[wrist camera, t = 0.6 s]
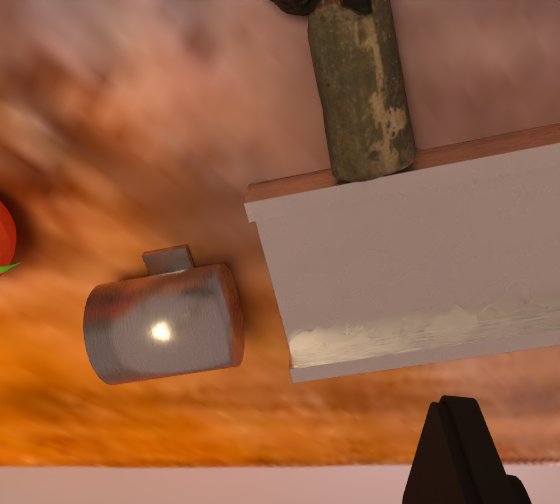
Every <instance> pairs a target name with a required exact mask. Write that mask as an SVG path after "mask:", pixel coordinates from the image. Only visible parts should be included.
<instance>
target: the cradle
mask: <svg viewBox="0 0 560 504" xmlns="http://www.w3.org/2000/svg"><path fill="white" fill-rule="evenodd" d="M244 206H245V209H246V213H247V217H248V220H249V222H254V221H256V225H257V229H258V233H259V236H260V240H261V244H262V248H263V251H264V255H265V259H266V263H267V266H268V270H269V274H270V278H271V281H272V285H273V289H274V293H275V296H276V300H277V304H278V307H279V311H280V315H281V319H282V322H283V326H284V330H285V334H286V337H287V341H288V345H289V349H290V363H289V370H290V374H291V378H292V381H293V383H297V382H304V381H311V380H318V379H325V378H332V377H339V376H346V375H353V374H360V373H367V372H374V371H381V370H388V369H395V368H402V367H409V366H416V365H423V364H430V363H437V362H444V361H451V360H458V359H465V358H472V357H479V356H486V355H493V354H500V353H507V352H514V351H521V350H528V349H535V348H542V347H549V346H556V345H560V123H559V124H554V125H549V126H544V127H539V128H534V129H529V130H524V131H519V132H514V133H509V134H504V135H498V136H493V137H488V138H483V139H478V140H473V141H468V142H463V143H458V144H453V145H448V146H443V147H438V148H433V149H428V150H423V151H417V153H416V156H415V159H414V161H413V162H412V163H411V164H410V165H408V166H407V167H405V168H404V169H401V170H399V171H396V172H394V173H392V174H388V175H384V176H382V177H379V178H377V179H374V180H370V181H365V182H348V181H343V180H339V179H336V178H335V177H334V176H333V175H332V170H331V169H326V170H321V171H316V172H311V173H306V174H301V175H296V176H291V177H286V178H281V179H276V180H271V181H266V182H260V183H255V184H250V185H249V186H248V190H247V194H246V198H245V201H244Z"/></svg>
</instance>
